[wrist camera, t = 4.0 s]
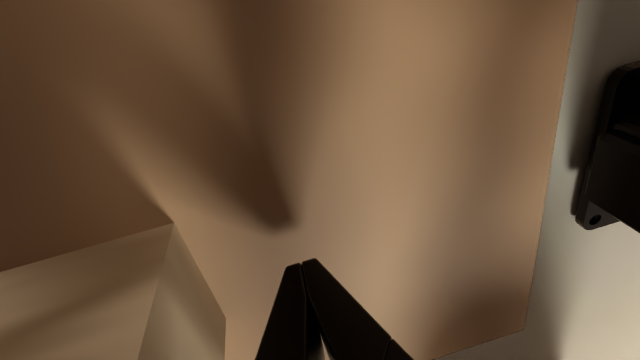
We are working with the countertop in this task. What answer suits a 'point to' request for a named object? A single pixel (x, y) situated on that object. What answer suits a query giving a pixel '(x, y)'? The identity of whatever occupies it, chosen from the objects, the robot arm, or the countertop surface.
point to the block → (112, 304)
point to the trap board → (294, 148)
